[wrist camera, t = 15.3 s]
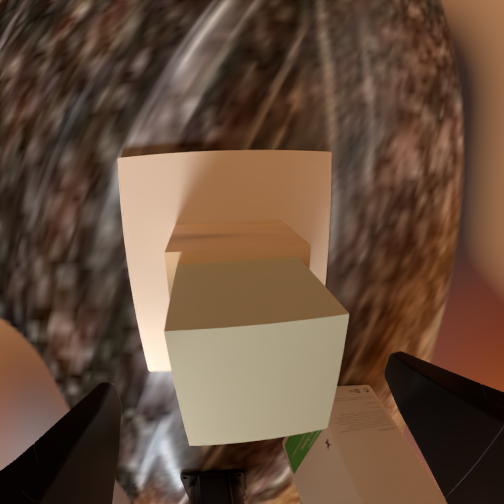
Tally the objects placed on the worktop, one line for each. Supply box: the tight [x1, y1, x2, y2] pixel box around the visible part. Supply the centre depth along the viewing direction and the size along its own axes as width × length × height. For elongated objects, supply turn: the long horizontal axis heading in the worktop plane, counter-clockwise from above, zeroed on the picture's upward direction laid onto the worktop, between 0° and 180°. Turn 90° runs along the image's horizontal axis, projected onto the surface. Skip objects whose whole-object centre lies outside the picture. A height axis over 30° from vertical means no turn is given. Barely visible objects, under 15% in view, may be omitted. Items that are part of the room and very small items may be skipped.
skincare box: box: [282, 385, 447, 504], centre depth 17 cm, size 8×7×16 cm
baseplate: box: [118, 150, 332, 371], centre depth 18 cm, size 14×12×1 cm
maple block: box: [164, 220, 311, 299], centre depth 16 cm, size 6×6×5 cm
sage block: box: [164, 257, 349, 446], centre depth 11 cm, size 5×5×5 cm
